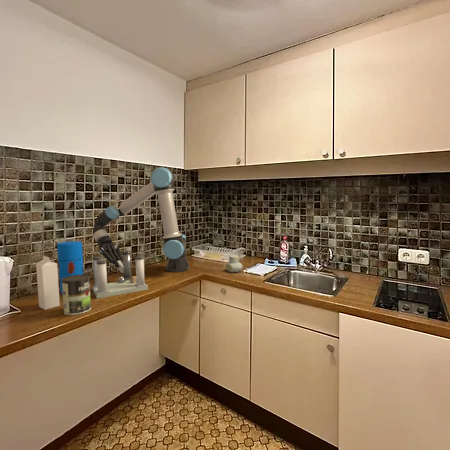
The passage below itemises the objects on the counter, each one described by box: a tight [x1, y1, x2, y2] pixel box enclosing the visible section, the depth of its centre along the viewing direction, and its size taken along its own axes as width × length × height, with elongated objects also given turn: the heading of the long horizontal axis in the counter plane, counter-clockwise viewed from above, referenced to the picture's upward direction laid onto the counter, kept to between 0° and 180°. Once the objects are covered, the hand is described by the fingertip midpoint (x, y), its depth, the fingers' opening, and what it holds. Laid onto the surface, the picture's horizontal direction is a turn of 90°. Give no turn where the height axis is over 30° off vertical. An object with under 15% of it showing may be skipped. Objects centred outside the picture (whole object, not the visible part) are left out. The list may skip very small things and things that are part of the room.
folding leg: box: [117, 250, 133, 283], centre depth 155 cm, size 11×4×15 cm, turn 172°
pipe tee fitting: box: [225, 254, 243, 273], centre depth 180 cm, size 11×8×10 cm
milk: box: [35, 255, 61, 311], centre depth 123 cm, size 6×6×22 cm
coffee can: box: [62, 274, 92, 316], centre depth 119 cm, size 10×10×14 cm
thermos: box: [56, 240, 85, 296], centre depth 142 cm, size 11×11×25 cm
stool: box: [91, 255, 149, 299], centre depth 146 cm, size 24×16×17 cm
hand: (123, 271), depth 160 cm, fingers closed
